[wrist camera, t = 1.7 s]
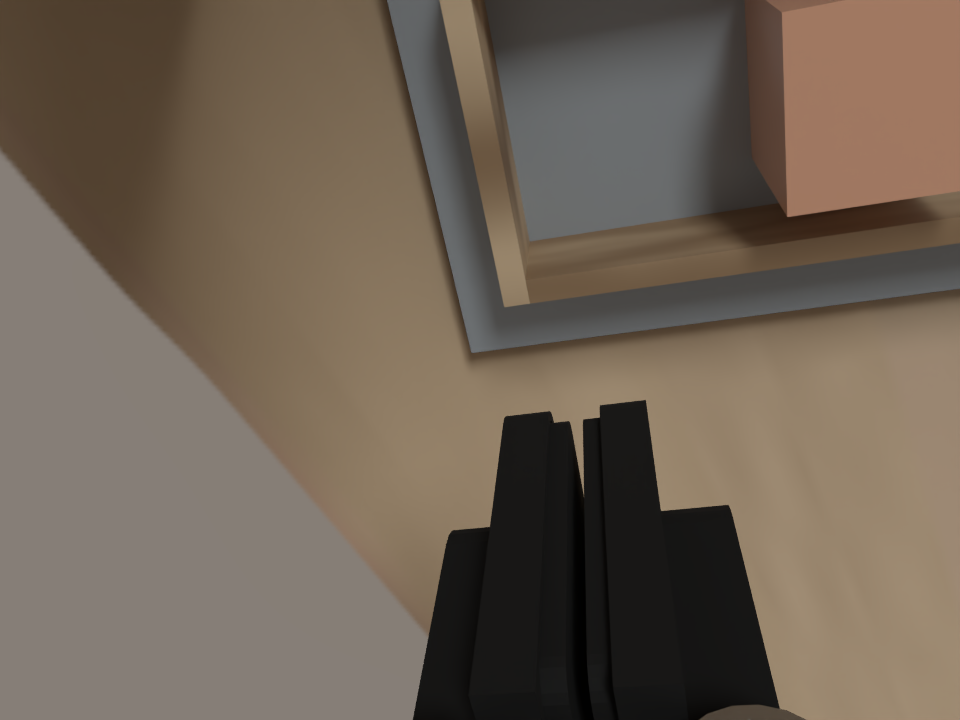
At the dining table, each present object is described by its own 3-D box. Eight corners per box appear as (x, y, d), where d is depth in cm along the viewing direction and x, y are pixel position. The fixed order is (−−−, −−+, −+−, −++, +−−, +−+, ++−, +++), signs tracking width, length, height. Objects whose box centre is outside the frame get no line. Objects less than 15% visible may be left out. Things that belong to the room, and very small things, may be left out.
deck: (338, -242, 23) (327, -247, 22) (1661, -600, 18) (1728, -628, 17) (474, 336, 31) (471, 353, 30) (1385, 213, 26) (1419, 228, 25)
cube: (743, -16, 24) (781, 12, 19) (936, -55, 23) (1021, -34, 18) (751, 157, 26) (787, 216, 22) (926, 129, 25) (999, 185, 21)
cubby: (447, -48, 24) (431, -37, 21) (1116, -196, 21) (1193, -204, 18) (510, 266, 29) (504, 307, 26) (1063, 184, 26) (1118, 220, 23)
